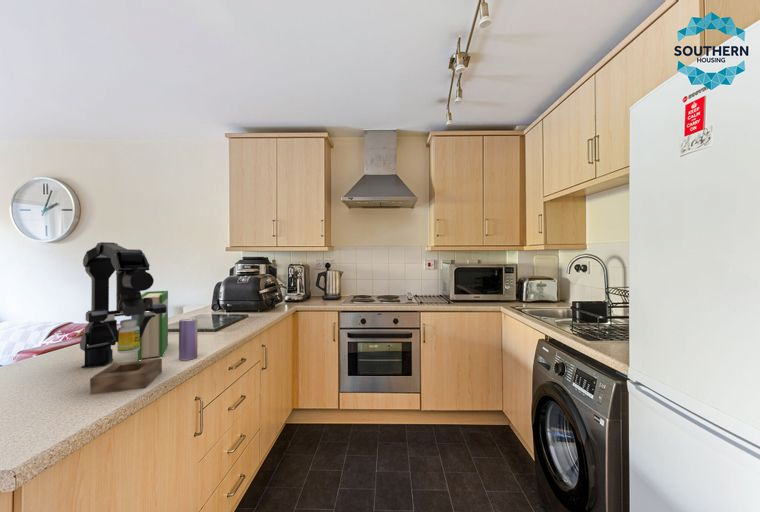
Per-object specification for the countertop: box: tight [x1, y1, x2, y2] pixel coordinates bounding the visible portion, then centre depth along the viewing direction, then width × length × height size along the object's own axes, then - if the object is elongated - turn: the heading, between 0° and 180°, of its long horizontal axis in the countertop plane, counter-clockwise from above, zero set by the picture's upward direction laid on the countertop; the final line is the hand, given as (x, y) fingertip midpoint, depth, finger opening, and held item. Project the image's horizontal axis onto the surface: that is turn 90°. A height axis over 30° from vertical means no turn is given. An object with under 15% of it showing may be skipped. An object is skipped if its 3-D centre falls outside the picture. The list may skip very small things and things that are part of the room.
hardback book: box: [137, 290, 169, 361], centre depth 121 cm, size 18×7×24 cm, turn 30°
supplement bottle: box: [116, 318, 140, 354], centre depth 93 cm, size 5×5×10 cm
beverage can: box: [178, 317, 199, 361], centre depth 114 cm, size 6×6×15 cm
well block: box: [89, 358, 163, 395], centre depth 92 cm, size 13×13×4 cm
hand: (128, 339), depth 93 cm, fingers closed on supplement bottle, 5 cm apart
